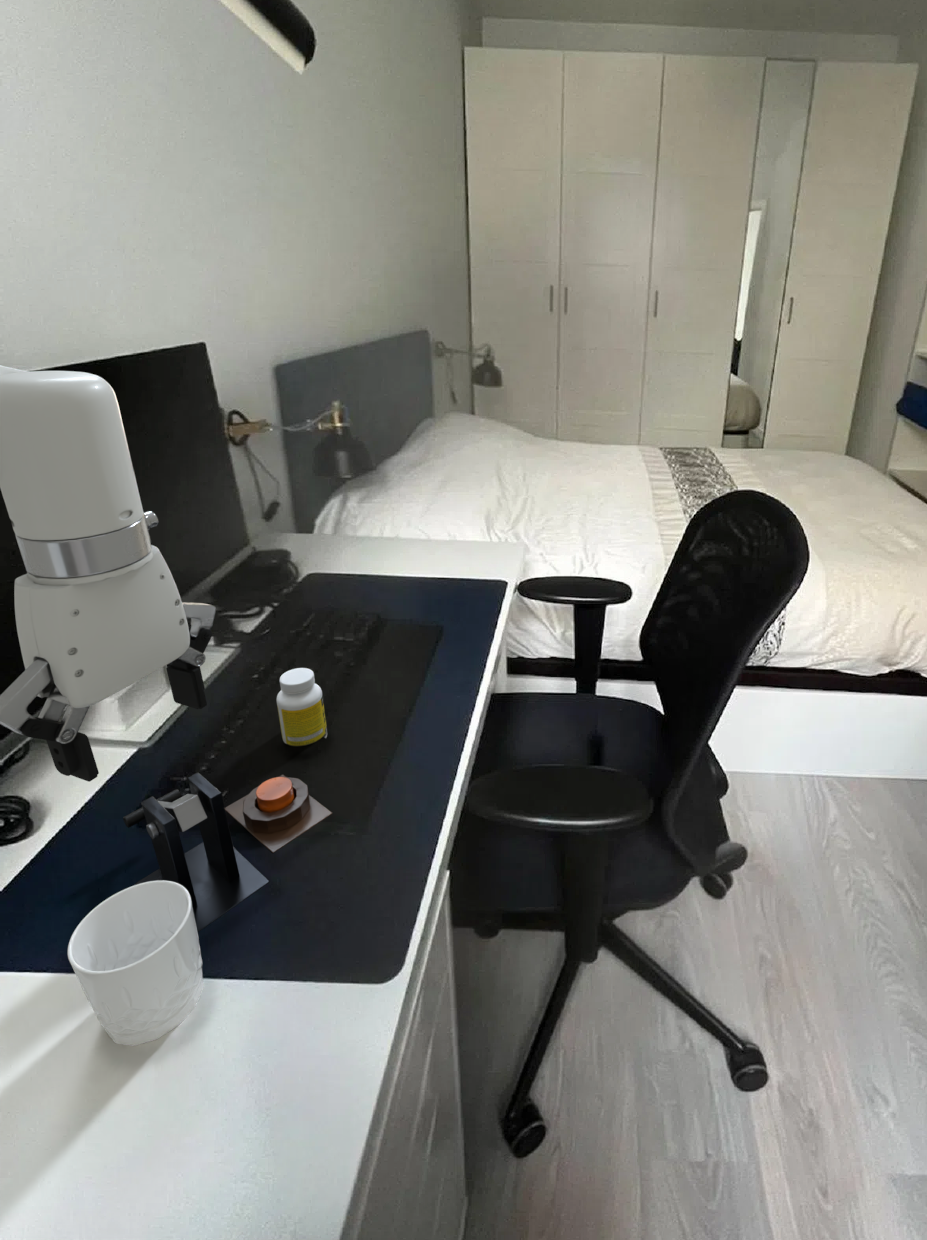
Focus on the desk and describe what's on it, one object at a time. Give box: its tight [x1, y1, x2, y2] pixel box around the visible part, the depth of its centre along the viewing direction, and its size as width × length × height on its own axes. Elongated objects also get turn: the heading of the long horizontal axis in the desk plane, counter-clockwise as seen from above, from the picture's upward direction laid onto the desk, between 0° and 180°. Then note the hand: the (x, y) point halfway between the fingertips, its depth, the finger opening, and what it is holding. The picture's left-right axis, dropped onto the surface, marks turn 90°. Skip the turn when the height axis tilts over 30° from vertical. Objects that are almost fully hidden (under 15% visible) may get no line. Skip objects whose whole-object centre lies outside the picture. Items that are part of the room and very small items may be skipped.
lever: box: [122, 788, 207, 833], centre depth 63 cm, size 12×5×2 cm, turn 54°
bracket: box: [135, 772, 271, 933], centre depth 62 cm, size 10×8×12 cm
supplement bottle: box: [275, 667, 328, 747], centre depth 83 cm, size 5×5×10 cm
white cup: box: [67, 880, 205, 1047], centre depth 52 cm, size 8×8×10 cm
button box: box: [224, 774, 333, 854], centre depth 72 cm, size 10×7×3 cm
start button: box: [256, 776, 294, 813], centre depth 71 cm, size 4×4×2 cm
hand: (140, 736), depth 54 cm, fingers open, 9 cm apart
